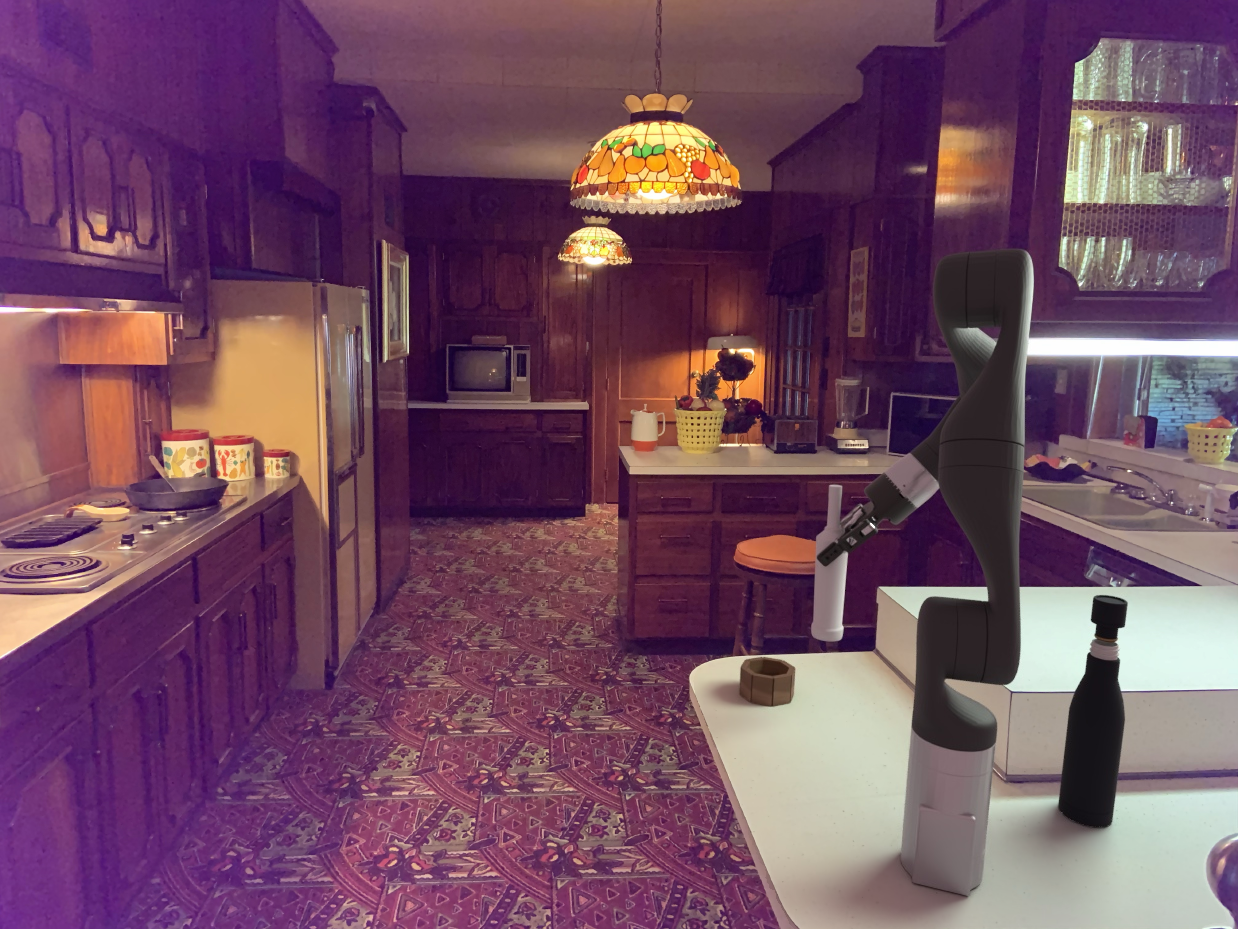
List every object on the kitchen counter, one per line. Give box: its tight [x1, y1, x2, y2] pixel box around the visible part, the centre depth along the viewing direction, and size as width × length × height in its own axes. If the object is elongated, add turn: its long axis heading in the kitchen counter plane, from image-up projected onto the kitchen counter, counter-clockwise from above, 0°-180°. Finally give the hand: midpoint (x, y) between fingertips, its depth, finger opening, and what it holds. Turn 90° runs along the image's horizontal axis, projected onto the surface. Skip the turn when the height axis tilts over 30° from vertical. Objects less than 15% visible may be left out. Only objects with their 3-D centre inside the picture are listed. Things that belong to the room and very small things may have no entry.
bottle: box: [810, 484, 850, 642], centre depth 135 cm, size 5×5×25 cm
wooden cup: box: [738, 656, 796, 707], centre depth 147 cm, size 9×9×5 cm
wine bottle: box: [1057, 594, 1129, 828], centre depth 110 cm, size 6×6×30 cm
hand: (820, 557), depth 135 cm, fingers closed on bottle, 5 cm apart
